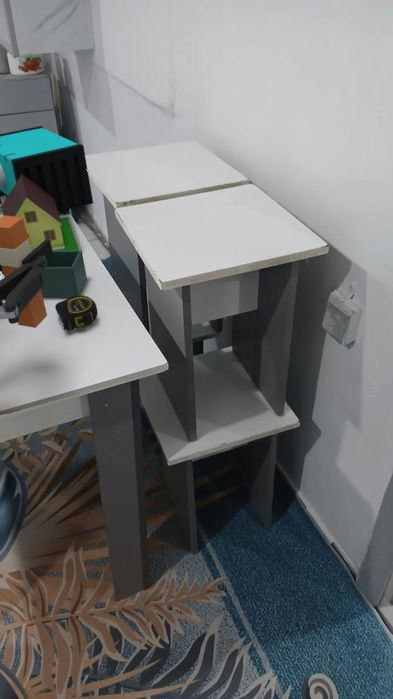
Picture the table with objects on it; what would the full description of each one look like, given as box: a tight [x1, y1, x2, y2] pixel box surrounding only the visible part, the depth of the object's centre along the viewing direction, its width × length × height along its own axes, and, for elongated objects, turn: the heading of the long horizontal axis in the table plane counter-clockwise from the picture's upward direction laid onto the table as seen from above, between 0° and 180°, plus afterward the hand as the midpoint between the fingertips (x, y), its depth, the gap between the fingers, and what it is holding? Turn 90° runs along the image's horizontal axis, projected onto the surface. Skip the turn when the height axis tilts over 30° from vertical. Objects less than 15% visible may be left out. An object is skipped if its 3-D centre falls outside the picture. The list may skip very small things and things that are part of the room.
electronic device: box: [0, 125, 94, 213], centre depth 137 cm, size 25×25×15 cm
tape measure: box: [54, 295, 99, 332], centre depth 96 cm, size 7×7×4 cm
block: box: [0, 215, 48, 329], centre depth 77 cm, size 3×4×16 cm
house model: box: [1, 174, 80, 251], centre depth 120 cm, size 18×20×13 cm
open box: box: [41, 250, 88, 299], centre depth 105 cm, size 8×7×6 cm
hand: (38, 246), depth 80 cm, fingers closed on block, 3 cm apart
